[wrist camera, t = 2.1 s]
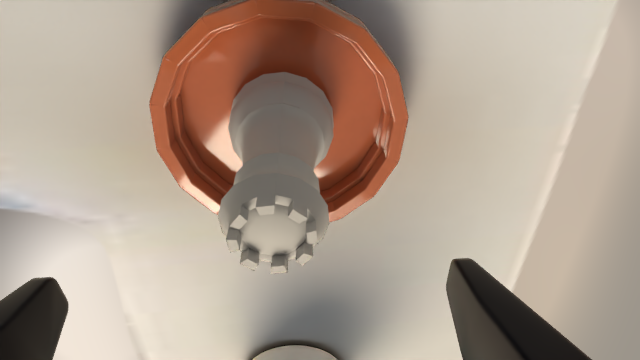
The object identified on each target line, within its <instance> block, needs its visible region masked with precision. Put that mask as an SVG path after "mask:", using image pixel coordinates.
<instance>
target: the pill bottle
mask: <svg viewBox="0 0 640 360" xmlns="http://www.w3.org/2000/svg"><path fill="white" fill-rule="evenodd" d="M252 360H337V359H336V358H335V357H334V356H333V355H331V354H329V353H328V352H326V351H323V350H321V349H318V348H314V347H309V346H300V345H289V346H281V347H276V348H273V349H270V350H267V351H265V352H263V353H261V354H259V355H258V356H256V357H255V358H254V359H252Z"/></svg>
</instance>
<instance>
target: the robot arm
mask: <svg viewBox="0 0 640 360" xmlns="http://www.w3.org/2000/svg"><path fill="white" fill-rule="evenodd" d="M446 291H447V296H448V300H449V304H450V309H451V313H452V317H453V321H454V325H455V329H456V334H457V338H458V342H459V346H460V350H461V354H462V357H463V360H592V359H590V358H589V357H588V356H587V355H586V354H584V353H583V352H582V351H581V350H580V349H579V348H577V347H576V346H575V345H574V344H573V343H571V342H570V341H569V340H568V339H567V338H565V337H564V336H563V335H562V334H561V333H559V332H558V331H557V330H556V329H555V328H553V327H552V326H551V325H550V324H549V323H547V322H546V321H545V320H544V319H543V318H542V317H540V316H539V315H538V314H537V313H536V312H534V311H533V310H532V309H531V308H530V307H528V306H527V305H526V304H525V303H524V302H522V301H521V300H520V299H519V298H518V297H516V296H515V295H514V294H513V293H512V292H511V291H509V290H508V289H507V288H506V287H505V286H503V285H502V284H501V283H500V282H499V281H497V280H496V279H495V278H494V277H493V276H491V275H490V274H489V273H488V272H487V271H485V270H484V269H483V268H482V267H481V266H479V265H478V264H477V263H476V262H475V261H473V260H472V259H469V258H463V259H453V260H452V262H451V265H450V269H449V274H448V278H447V283H446ZM67 313H68V301H67V299H66V297H65V295H64V293H63V291H62V289H61V288H60V286H59V284H58V282H57V281H56V280H55V279H54V278H51V277H46V278H34V279H31V280H30V281H28V282H27V283H25V284H24V285H22V286H21V287H19V288H18V289H17V290H15V291H14V292H12V293H11V294H9V295H8V296H6V297H5V298H4V299H2V300H1V301H0V360H52V359H53V356H54V353H55V350H56V347H57V344H58V341H59V338H60V335H61V331H62V328H63V325H64V322H65V319H66V316H67Z"/></svg>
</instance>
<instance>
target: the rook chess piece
mask: <svg viewBox="0 0 640 360" xmlns="http://www.w3.org/2000/svg"><path fill="white" fill-rule="evenodd" d="M333 127H334V123H333V111H332V107H331V105H330V103H329V101H328V99H327V98H326V96H325V94H324V92H323V91H322V90H321V89H320V88H319V87H317V86H316V85H315V84H313V83H312V82H311V81H310V80H308V79H307V78H305V77H301V76H298V75H294V74H291V73H287V72H279V73H270V74H263V75H261V76H259V77H257V78H256V79H254V80H252V81H250V82H248V83H247V84H245V85H244V86H243V88H242V89H241V90H240V92H239V93H238V94H237V96H236V97H235V98H234V100H233V104H232V109H231V114H230V121H229V126H228V130H229V134H230V138H231V142H232V146H233V149H234V151H235V152H236V154H237V155H238V156H239V158H240V159H241V160H242V162H243V166H242V167H241V168H240V169H239V171H238V172H237V173H236V176H235V180H234V184H233V186H232V188H231V189H230V190H229V191H228V192H227V194H226V195H225V196H224V197H223V198H222V200H221V204H220V209H219V213H218V219H219V222H220V225H221V229H222V232H223V234H224V235H225V236H226V237H227V238H226V241H227V244H228V248H229V251H230V253H231V252H234V251H238V250H240V251H241V252H242V254H241V260H240V264H242V265H244V266H246V267H248V268H249V269H251V270H253V271H255V269H256V267H257V266H258V263H259V260H260V261H266V262H271V274H276V273H286V272H288V261H289V260H292V259H294V258H296V262H298V263H299V264H300V265H301V266H303V265H304V264H305V263H306V262H308V261H309V260H310V259H311V258H312V257H313V247H314V246H315V245H316V244H318V242H319V241H320V240H321V239H323V237H324V235H325V232H326V230H327V227H328V225H329V213H328V205H327V204H326V202H325V201H324V199H323V198H322V196H321V195H320V189H319V181H318V178H317V176H316V175H315V173H314V168H315V167H316V166H317V165H318V164H319V163H320V162H321V161H322V160H323V159H324V158H325V157H326V155H327V153H328V150H329V147H330V144H331V142H332V139H333V136H334V135H333Z"/></svg>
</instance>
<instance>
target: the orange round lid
mask: <svg viewBox="0 0 640 360" xmlns="http://www.w3.org/2000/svg"><path fill="white" fill-rule="evenodd" d="M279 72H287V73H291V74H294V75H298V76H301V77H305V78H307V79H308V80H310V81H311V82H312V83H313V84H315V85H316V86H317V87H319V88H320V89H321V90H322V91H323V92H324V94H325V96H326V98H327V99H328V101H329V103H330V105H331V107H332V111H333V123H334V127H333V135H334V136H333V139H332V142H331V144H330V147H329V150H328V153H327V155H326V157H325V158H324V159H323V160H322V161H321V162H320V163H319V164H318V165H317V166H316V167H315V168H314V173H315V175H316V176H317V178H318V181H319V189H320V195H321V196H322V198H323V199H324V201H325V202H326V204H327V205H328V213H329V222H332V221H335V220H339V219H341V218H343V217H344V216H346V215H347V214H349V213H350V212H352V211H353V210H354V209H356V208H357V207H359V206H360V205H362V204H363V203H365V202H366V201H368V200H369V199H371V198H372V197H374V195H375V194H376V193H377V192H378V190H379V189H380V187H381V186H382V185H383V183H384V182H385V180H386V179H387V178H388V176H389V175H390V173H391V172H392V171H393V169H394V168H395V166H396V165H397V164H398V161H399V159H400V155H401V150H402V146H403V141H404V136H405V132H406V127H407V123H408V113H407V108H406V104H405V99H404V94H403V90H402V85H401V81H400V76H399V72H398V71H397V69H396V67H395V65H394V64H393V62H392V60H391V59H390V57H389V56H388V55H387V53H386V52H385V51H384V49H383V48H382V47H381V45H380V44H379V43H378V42H377V40H376V39H375V38H374V36H373V35H372V34H371V32H370V31H369V30H368V28H367V27H366V26H365V24H364V23H363V22H362V21H361V20H360V19H359V18H357V17H355V16H353V15H351V14H349V13H348V12H346V11H344V10H342V9H340V8H338V7H337V6H335V5H333V4H331V3H329V2H327V1H326V0H230V1H227V2H224V3H222V4H219V5H216V6H213V7H211V8H209V9H208V10H206V12H205V13H204V14H203V15H202V16H201V17H200V18H199V19H198V20H197V21H196V22H195V23H194V24H193V25H192V26H191V27H190V28H189V29H188V30H187V31H186V32H185V33H184V34H183V35H182V37H181V38H180V39H179V40H178V41H177V42H176V43H175V44H174V45H173V46H172V47H171V48H170V49H169V50H168V51H167V52H166V53H165V55H164V57H163V59H162V62H161V65H160V69H159V72H158V75H157V78H156V82H155V85H154V88H153V92H152V95H151V98H150V104H149V106H150V112H151V118H152V124H153V131H154V137H155V143H156V148H157V151H158V153H159V155H160V156H161V158H162V159H163V161H164V162H165V164H166V166H167V167H168V169H169V170H170V172H171V173H172V175H173V177H174V178H175V180H176V181H177V183H178V184H179V186H180V187H181V188H182V189H183V190H184V191H186V192H187V193H188V194H190V195H191V196H192V197H194V198H195V199H196V200H198V201H199V202H200V203H201V204H203V205H204V206H205V207H207V208H208V209H209V210H211V211H212V212H213V213H215V214H217V215H218V213H219V209H220V204H221V200H222V198H223V197H224V196H225V195H226V194H227V192H228V191H229V190H230V189H231V188H232V186H233V184H234V180H235V176H236V173H237V172H238V171H239V169H240V168H241V167H242V166H243V162H242V160H241V159H240V158H239V156H238V155H237V154H236V152H235V151H234V149H233V146H232V142H231V138H230V134H229V130H228V126H229V121H230V114H231V109H232V104H233V100H234V98H235V97H236V96H237V94H238V93H239V92H240V90H241V89H242V88H243V86H244V85H245V84H247V83H248V82H250V81H252V80H254V79H256V78H257V77H259V76H261V75H263V74H270V73H279Z"/></svg>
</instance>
